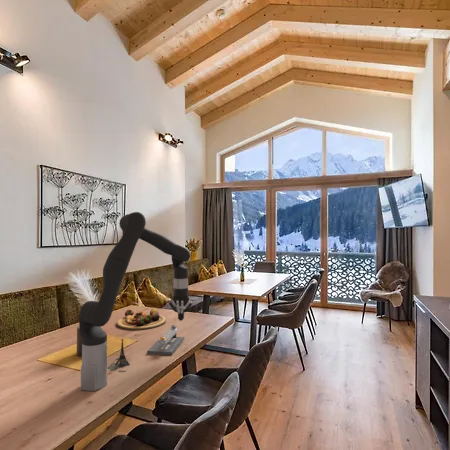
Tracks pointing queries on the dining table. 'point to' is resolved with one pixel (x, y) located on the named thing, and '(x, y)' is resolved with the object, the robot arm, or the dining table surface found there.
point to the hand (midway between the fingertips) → (181, 320)
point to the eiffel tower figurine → (121, 360)
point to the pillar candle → (79, 343)
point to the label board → (166, 347)
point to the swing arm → (168, 335)
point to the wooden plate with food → (141, 320)
